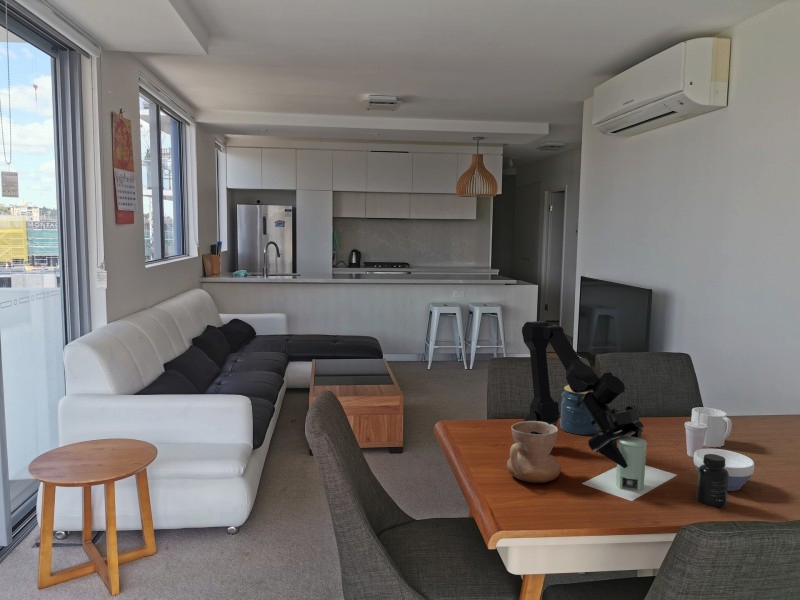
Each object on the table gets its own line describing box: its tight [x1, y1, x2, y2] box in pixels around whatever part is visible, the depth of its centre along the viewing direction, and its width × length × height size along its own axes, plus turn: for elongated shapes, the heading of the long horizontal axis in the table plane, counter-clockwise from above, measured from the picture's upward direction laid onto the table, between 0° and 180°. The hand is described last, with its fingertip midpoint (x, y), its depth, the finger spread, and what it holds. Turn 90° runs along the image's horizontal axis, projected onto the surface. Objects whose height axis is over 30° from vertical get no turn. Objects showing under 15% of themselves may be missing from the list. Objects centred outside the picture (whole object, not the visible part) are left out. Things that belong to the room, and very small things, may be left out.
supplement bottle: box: [695, 454, 729, 509], centre depth 155 cm, size 7×7×12 cm
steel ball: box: [624, 478, 636, 487], centre depth 163 cm, size 3×3×3 cm
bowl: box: [693, 448, 755, 492], centre depth 167 cm, size 14×14×8 cm
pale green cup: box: [616, 436, 648, 492], centre depth 163 cm, size 7×7×12 cm
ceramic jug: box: [506, 421, 562, 484], centre depth 169 cm, size 18×14×14 cm
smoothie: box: [683, 411, 708, 458], centre depth 188 cm, size 6×6×14 cm
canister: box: [559, 384, 599, 436], centre depth 211 cm, size 13×13×18 cm
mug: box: [690, 406, 733, 448], centre depth 200 cm, size 13×10×10 cm
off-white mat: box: [581, 464, 678, 502], centre depth 168 cm, size 26×14×1 cm, turn 132°
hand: (635, 463), depth 162 cm, fingers open, 9 cm apart
